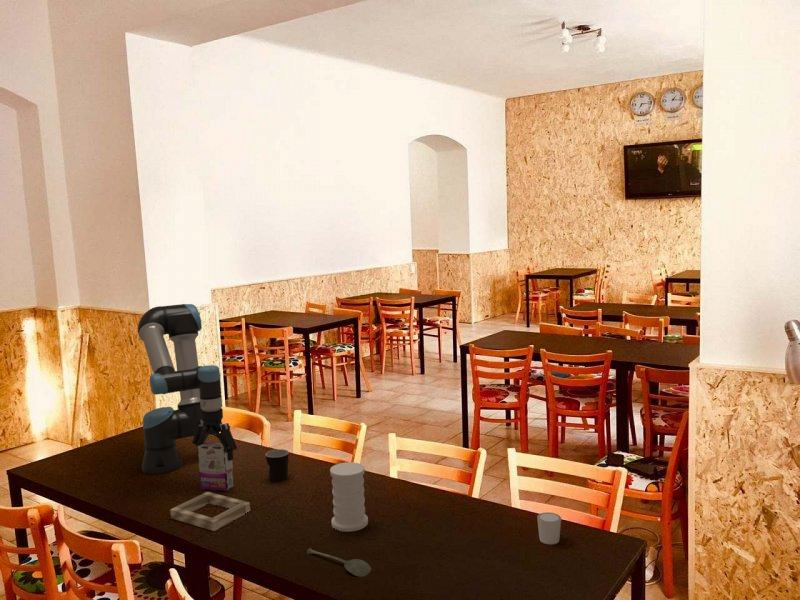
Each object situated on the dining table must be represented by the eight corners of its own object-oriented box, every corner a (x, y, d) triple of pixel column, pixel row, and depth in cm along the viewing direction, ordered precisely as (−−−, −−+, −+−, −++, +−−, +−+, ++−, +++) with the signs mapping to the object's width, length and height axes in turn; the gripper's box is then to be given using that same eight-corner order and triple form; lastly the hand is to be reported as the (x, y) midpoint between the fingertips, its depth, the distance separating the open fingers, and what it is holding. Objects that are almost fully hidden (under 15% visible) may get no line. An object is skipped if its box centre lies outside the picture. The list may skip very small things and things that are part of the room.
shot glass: (556, 547, 189) (556, 524, 188) (534, 542, 193) (533, 519, 192) (564, 537, 195) (564, 514, 194) (542, 532, 198) (541, 510, 198)
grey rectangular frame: (171, 518, 217) (170, 509, 217) (208, 499, 230) (207, 491, 230) (214, 531, 207) (213, 522, 206) (250, 511, 220) (249, 502, 220)
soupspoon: (360, 583, 176) (375, 573, 181) (360, 571, 175) (376, 562, 181) (301, 558, 189) (317, 549, 194) (301, 546, 188) (317, 538, 194)
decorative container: (334, 534, 202) (332, 477, 200) (328, 518, 213) (326, 464, 211) (371, 528, 205) (369, 472, 203) (363, 512, 216) (361, 459, 214)
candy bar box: (234, 486, 242) (231, 443, 240) (227, 491, 237) (224, 447, 235) (206, 484, 244) (203, 441, 242) (199, 489, 240) (196, 446, 238)
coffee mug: (287, 483, 243) (286, 457, 242) (264, 483, 243) (263, 457, 242) (293, 471, 254) (292, 446, 253) (271, 471, 255) (269, 446, 253)
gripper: (179, 407, 240) (184, 464, 243) (228, 415, 227) (233, 474, 230) (195, 402, 247) (199, 457, 249) (244, 409, 234) (248, 467, 236)
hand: (215, 466), depth 239 cm, fingers open, 13 cm apart
